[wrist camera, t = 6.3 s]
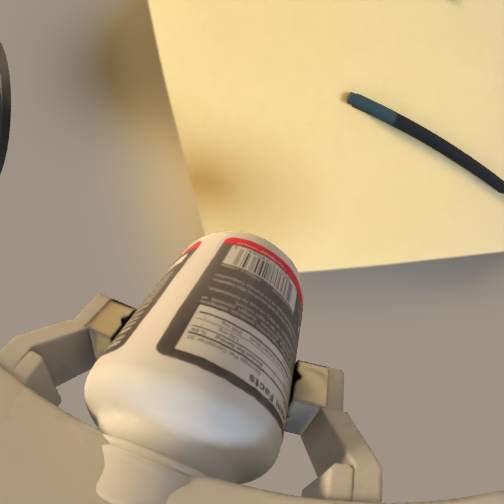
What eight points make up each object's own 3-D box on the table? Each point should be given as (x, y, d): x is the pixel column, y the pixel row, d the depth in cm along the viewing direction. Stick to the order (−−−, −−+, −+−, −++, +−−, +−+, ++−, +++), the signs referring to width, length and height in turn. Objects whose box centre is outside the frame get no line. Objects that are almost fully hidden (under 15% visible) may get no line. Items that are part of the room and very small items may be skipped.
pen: (506, 198, 19) (513, 203, 18) (344, 103, 19) (345, 103, 18) (511, 187, 18) (518, 192, 17) (349, 90, 19) (351, 89, 18)
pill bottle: (208, 340, 15) (122, 524, 6) (159, 243, 13) (-5, 430, 4) (318, 328, 13) (284, 564, 5) (284, 211, 11) (171, 518, 2)
